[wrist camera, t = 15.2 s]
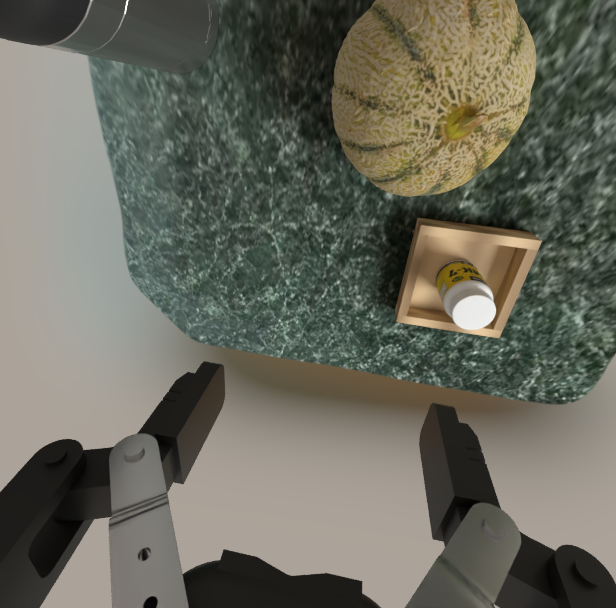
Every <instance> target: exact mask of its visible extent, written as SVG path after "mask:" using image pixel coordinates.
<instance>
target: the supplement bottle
mask: <svg viewBox="0 0 616 608" xmlns="http://www.w3.org/2000/svg"><path fill="white" fill-rule="evenodd" d="M435 282H436V286H437V289H438V292H439V295H440V298H441V301H442V303H443V306H444V309H445V311H446V312H447V314H448V315H449V316H450V317H452V319H453V321H454V322H455V324H456V325H458V326H459V327H461V328H463V329H466V330H477V329H480V328H483V327H485V326H487V325H488V324H489V323H490V322H491V321H492V320H493V318H494V317H495V314H496V307H495V304H494V302H493V294H492V291H491V289H490V288H489V286H488V285H487V283H486V282H485V280H484V279H483V277H482V276H481V274H480V273H479V271H478V269H477V268H476V267H475V266H474V265H473V264H472V263H470V262H468V261H466V260H453V261H450V262H448V263H446V264H444V265H443V266H442V267H441V268H440V269H439V270H438V272H437V274H436V279H435Z"/></svg>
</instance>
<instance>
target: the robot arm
mask: <svg viewBox="0 0 616 608" xmlns="http://www.w3.org/2000/svg"><path fill="white" fill-rule="evenodd" d="M218 25H219V17H218V8H217V4H216V0H0V38H3V39H6V40H10V41H15V42H20V43H25V44H31V45H37V46H42V47H47V48H53V49H57V50H62V51H67V52H72V53H79V54H84V55H88V56H93V57H98V58H103V59H108V60H113V61H118V62H123V63H128V64H133V65H138V66H143V67H148V68H152V69H157V70H162V71H167V72H172V73H180V74H182V73H188V72H192V71H194V70H196V69H198V68H199V67H200V66H202V65H203V64H204V63H205V62H206V61H207V59H208V58H209V56H210V55H211V53H212V51H213V49H214V46H215V44H216V40H217V35H218ZM224 398H225V379H224V366H223V365H222V364H216V363H210V362H203V363H202V364H201V365H200V367H199V368H198V370H197V371H196V373H190V372H187V373H186V374H184V375H183V376H182V377H180V378H179V379H177V380H176V381H175V383H174V384H173V386H172V387H171V388H170V390H169V392H168V393H167V394H166V395H165V397H164V398H163V401H161V402H160V403H159V405H158V406H157V407H156V409H155V410H154V412H153V413H152V414H151V416H150V417H149V419H148V420H147V421H146V423H145V424H144V425H143V427H142V428H141V430H140V431H139V432H138V433H137V434H135V435H131V436H128V437H126V438H124V439H123V440H121V441H120V442H118V443H117V444H116V445H115V446H114V447H111V448H102V449H91V450H83V448H82V445H81V444H80V443H79V442H78V441H76V440H72V439H63V440H58V441H55V442H52V443H50V444H48V445H46V446H44V447H43V448H41V449H40V450H39V451H38V452H36V453H35V454H34V456H33V457H32V458H31V459H30V460H29V461H28V462H27V463H26V464H25V465H24V467H23V468H22V469H21V470H20V471H19V472H18V473H17V474H16V475H15V476H14V478H13V479H12V480H11V481H10V482H9V483H8V484H7V486H5V488H4V489H3V490H2V491H1V492H0V608H40V606H41V604H42V603H43V601H44V600H45V598H46V596H47V595H48V593H49V592H50V590H51V588H52V587H53V585H54V583H55V582H56V580H57V579H58V577H59V575H60V574H61V572H62V570H63V569H64V567H65V566H66V564H67V562H68V561H69V559H70V558H71V556H72V554H73V553H74V551H75V549H76V548H77V546H78V545H79V543H80V541H81V540H82V538H83V536H84V535H85V533H86V532H87V530H88V528H89V527H90V525H91V523H92V522H93V520H94V519H98V518H106V517H112V518H110V519H109V545H110V569H111V592H112V608H381V607H380V606H379V605H378V604H376V603H375V602H374V601H373V600H371V599H370V598H369V597H367V596H366V595H364V594H362V581H359V580H354V579H350V578H346V577H341V576H336V575H332V574H328V573H325V574H311V575H299V576H290V575H287V574H285V573H283V572H282V571H280V570H278V569H276V568H275V567H273V566H271V565H270V564H268V563H266V562H265V561H263V560H261V559H259V558H258V557H255V556H250V555H246V554H241V553H237V552H233V551H229V550H223V553H222V556H221V560H218V561H212V562H207V563H204V564H201V565H199V566H196V567H194V568H193V569H190V570H189V571H187V572H185V573H184V574H182V569H181V564H180V559H179V554H178V548H177V543H176V537H175V532H174V528H173V522H172V516H171V511H170V506H169V500H168V495H167V493H168V491H169V489H170V487H171V485H172V483H173V482H175V483H180V484H184V482H185V480H186V478H187V476H188V474H189V472H190V470H191V468H192V466H193V464H194V462H195V460H196V458H197V456H198V454H199V452H200V450H201V448H202V446H203V444H204V442H205V440H206V438H207V436H208V435H209V432H210V430H211V429H212V427H213V425H214V423H215V421H216V419H217V417H218V415H219V413H220V411H221V409H222V406H223V403H224ZM419 446H420V453H421V461H422V467H423V475H424V481H425V489H426V496H427V503H428V510H429V517H430V524H431V530H432V538H433V539H434V540H439V541H443V542H444V544H445V549H444V550H443V552H442V553H441V555H440V556H439V557H438V558H437V559H436V561H435V562H434V564H433V565H432V567H431V569H430V570H429V572H428V573H427V575H426V576H425V578H424V579H423V581H422V582H421V584H420V586H419V587H418V588H417V590H416V592H415V593H414V595H413V596H412V598H411V599H410V601H409V602H408V604H407V605H406V607H405V608H495V607H494V604H495V605H497V606H498V607H500V608H616V584H615V582H614V580H613V578H612V576H611V575H610V573H609V572H608V571H607V569H606V568H605V567H604V566H603V565H602V564H601V563H600V562H599V561H598V560H597V559H596V558H595V557H594V556H592V555H591V554H590V553H588V552H586V551H585V550H583V549H581V548H579V547H576V546H573V545H562V546H560V547H559V548H558V549H557V550H556V551H554V550H553V549H551V548H549V547H547V546H545V545H543V544H541V543H539V542H537V541H535V540H533V539H531V538H529V537H528V536H526V535H524V534H523V533H521V532H520V531H519V530H518V528H517V526H516V524H515V522H514V521H513V520H512V519H511V518H510V516H508V514H506V513H505V512H504V511H503V510H501V507H500V505H499V502H498V499H497V496H496V493H495V490H494V487H493V484H492V481H491V477H490V474H489V471H488V468H487V465H486V464H485V459H484V456H483V453H482V452H481V447H480V444H479V441H478V437H477V436H476V435H475V433H474V432H473V430H472V429H471V428H470V427H469V426H468V424H465V423H459V421H458V418H457V414H456V411H455V408H454V407H452V406H447V405H441V404H436V403H432V404H431V405H430V408H429V411H428V413H427V416H426V419H425V421H424V424H423V427H422V429H421V434H420V443H419Z"/></svg>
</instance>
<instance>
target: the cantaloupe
mask: <svg viewBox="0 0 616 608" xmlns="http://www.w3.org/2000/svg"><path fill="white" fill-rule="evenodd" d="M535 68H536V51H535V46H534V42H533V39H532V36H531V34H530V32H529V29H528V26H527V24H526V23H525V21H524V20H523V18H522V17H521V16H520V14H519V13H518V10H517V4H516V3H515V0H376V1H375V2H374V3H373V5H372V6H371V8H370V9H369V10H368V11H366V12H365V13H364V14H363V16H362V17H361V18H359V19H358V20H357V22H356V23H355V24H354V25H353V26H352V27H351V29H350V31H349V32H348V33H347V36H346V38H345V40H344V41H343V44H342V47H341V49H340V51H339V53H338V58H337V60H336V65H335V69H334V86H333V89H332V112H333V119H334V127H335V130H336V133H337V135H338V136H339V139H340V142H341V145H342V148H343V150H344V152H345V155H346V156H347V158H348V159H349V160H350V162H351V163H352V164H353V165H354V167H355V168H356V169H357V170H358V172H360V173H361V174H363V175H364V176H365V177H367V178H368V179H369V180H370V181H371V182H372V183H373V184H374V185H376V186H377V187H379V188H380V189H382V190H385V191H387V192H388V193H392V194H396V195H402V196H420V195H432V194H439V193H443V192H446V191H450V190H452V189H454V188H456V187H459V186H461V185H463V184H464V183H466V182H468V181H469V180H470V179H472V178H473V177H474V176H476V175H477V174H478V173H480V172H481V171H482V170H484V169H485V168H486V167H488V166H489V165H490V164H491V163H493V161H494V160H495V159H496V158H497V157H498V156H499V155H500V154H501V153H502V152H503V150H504V149H505V148H506V147H507V145H508V144H509V142H510V140H511V138H512V137H513V135H514V134H515V133H516V131H517V130H518V129H519V127H520V125H521V123H522V121H523V119H524V117H525V116H526V114H527V110H528V106H529V102H530V93H531V88H532V85H533V82H534V79H535Z"/></svg>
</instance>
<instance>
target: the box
mask: <svg viewBox="0 0 616 608" xmlns="http://www.w3.org/2000/svg"><path fill="white" fill-rule="evenodd" d="M541 242H542V241H541V240H540V239H539V238H538V237H536V236H535V235H534V234H532V233H531V232H526V231H519V230H511V229H503V228H495V227H487V226H480V225H472V224H464V223H456V222H449V221H441V220H433V219H425V218H418V219H417V223H416V227H415V231H414V235H413V239H412V243H411V247H410V251H409V255H408V259H407V263H406V267H405V271H404V275H403V279H402V283H401V288H400V292H399V296H398V300H397V304H396V308H395V314H396V322H400V323H406V324H413V325H419V326H425V327H432V328H438V329H444V330H451V331H457V332H463V333H470V334H476V335H482V336H489V337H495V338H499V337H500V335H501V333H502V331H503V328H504V326H505V324H506V321H507V319H508V317H509V315H510V312H511V310H512V308H513V306H514V303H515V301H516V299H517V296H518V294H519V292H520V290H521V287H522V285H523V283H524V281H525V278H526V276H527V274H528V272H529V269H530V267H531V265H532V262H533V260H534V258H535V256H536V253H537V251H538V249H539V247H540V244H541ZM453 260H466V261H468V262H470V263H472V264H473V265H474V266H475V267H476V268H477V269H478V271H479V273H480V274H481V276H482V277H483V279H484V280H485V282H486V283H487V285H488V286H489V288H490V289H491V291H492V294H493V302H494V304H495V307H496V314H495V317H494V318H493V320H492V321H491V322H490V323H489V324H488V325H487V326H485V327H483V328H480V329H477V330H466V329H463V328H461V327H459V326H458V325H456V324H455V322H454V321H453V319H452V317H450V316H449V315H448V314H447V312H446V311H445V309H444V306H443V303H442V301H441V298H440V295H439V292H438V289H437V286H436V282H435V279H436V274H437V272H438V270H439V269H440V268H441V267H442V266H443V265H444V264H446V263H448V262H450V261H453Z"/></svg>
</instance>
